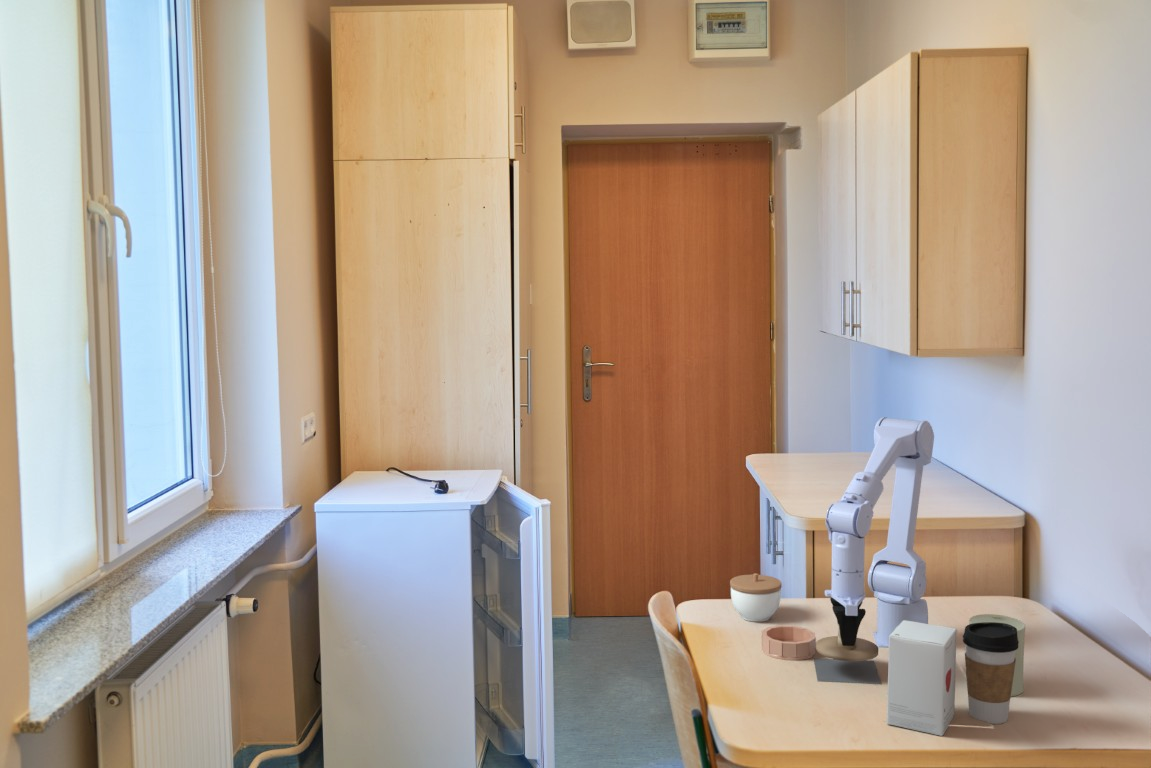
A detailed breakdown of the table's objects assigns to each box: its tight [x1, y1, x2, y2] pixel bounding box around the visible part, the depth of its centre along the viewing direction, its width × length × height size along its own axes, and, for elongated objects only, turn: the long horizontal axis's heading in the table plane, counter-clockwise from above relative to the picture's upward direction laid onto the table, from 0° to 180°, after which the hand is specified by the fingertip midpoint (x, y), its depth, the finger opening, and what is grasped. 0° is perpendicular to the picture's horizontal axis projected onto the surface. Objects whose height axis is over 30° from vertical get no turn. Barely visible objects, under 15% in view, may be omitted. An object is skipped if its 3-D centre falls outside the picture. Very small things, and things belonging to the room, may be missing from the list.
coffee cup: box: [962, 622, 1019, 725], centre depth 168 cm, size 8×8×15 cm
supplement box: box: [886, 620, 958, 737], centre depth 167 cm, size 9×9×15 cm
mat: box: [813, 657, 882, 685], centre depth 188 cm, size 11×11×1 cm
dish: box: [761, 624, 817, 661], centre depth 198 cm, size 10×10×4 cm
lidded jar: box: [729, 572, 783, 623], centre depth 218 cm, size 11×11×9 cm
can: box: [968, 613, 1026, 697], centre depth 180 cm, size 9×9×12 cm
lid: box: [815, 623, 879, 661], centre depth 187 cm, size 11×11×5 cm
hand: (847, 641), depth 187 cm, fingers closed on lid, 3 cm apart
